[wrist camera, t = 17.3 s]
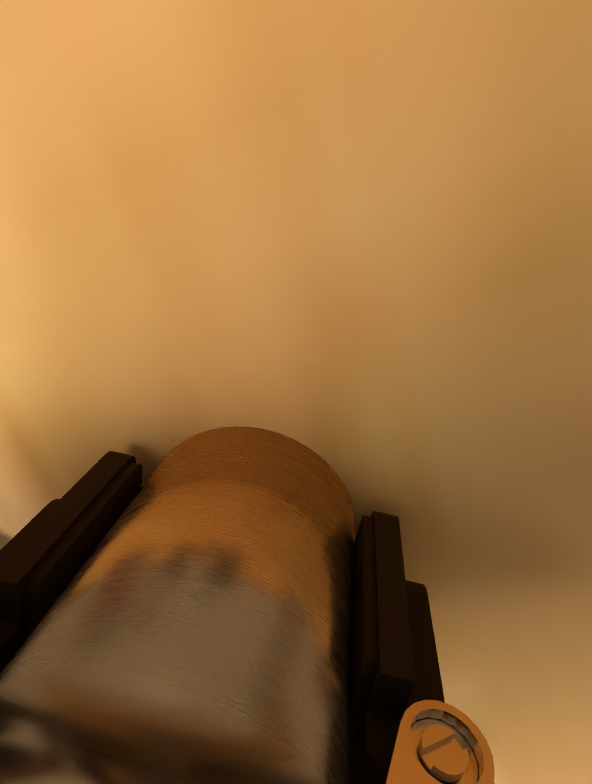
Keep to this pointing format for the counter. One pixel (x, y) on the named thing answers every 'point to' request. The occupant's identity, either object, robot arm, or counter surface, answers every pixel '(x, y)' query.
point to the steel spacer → (198, 631)
